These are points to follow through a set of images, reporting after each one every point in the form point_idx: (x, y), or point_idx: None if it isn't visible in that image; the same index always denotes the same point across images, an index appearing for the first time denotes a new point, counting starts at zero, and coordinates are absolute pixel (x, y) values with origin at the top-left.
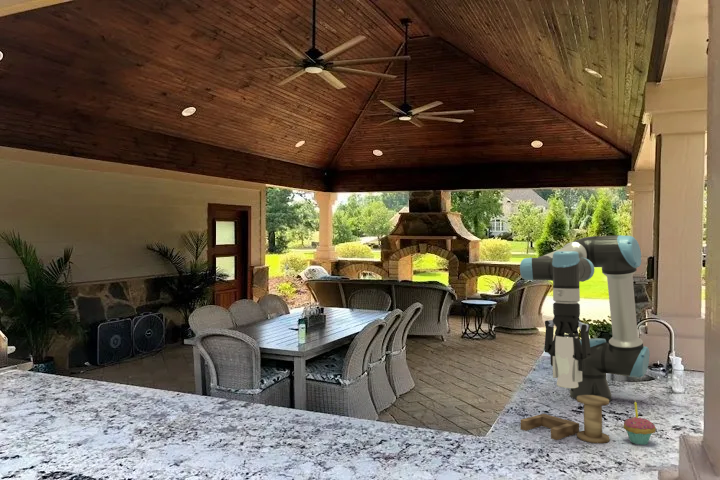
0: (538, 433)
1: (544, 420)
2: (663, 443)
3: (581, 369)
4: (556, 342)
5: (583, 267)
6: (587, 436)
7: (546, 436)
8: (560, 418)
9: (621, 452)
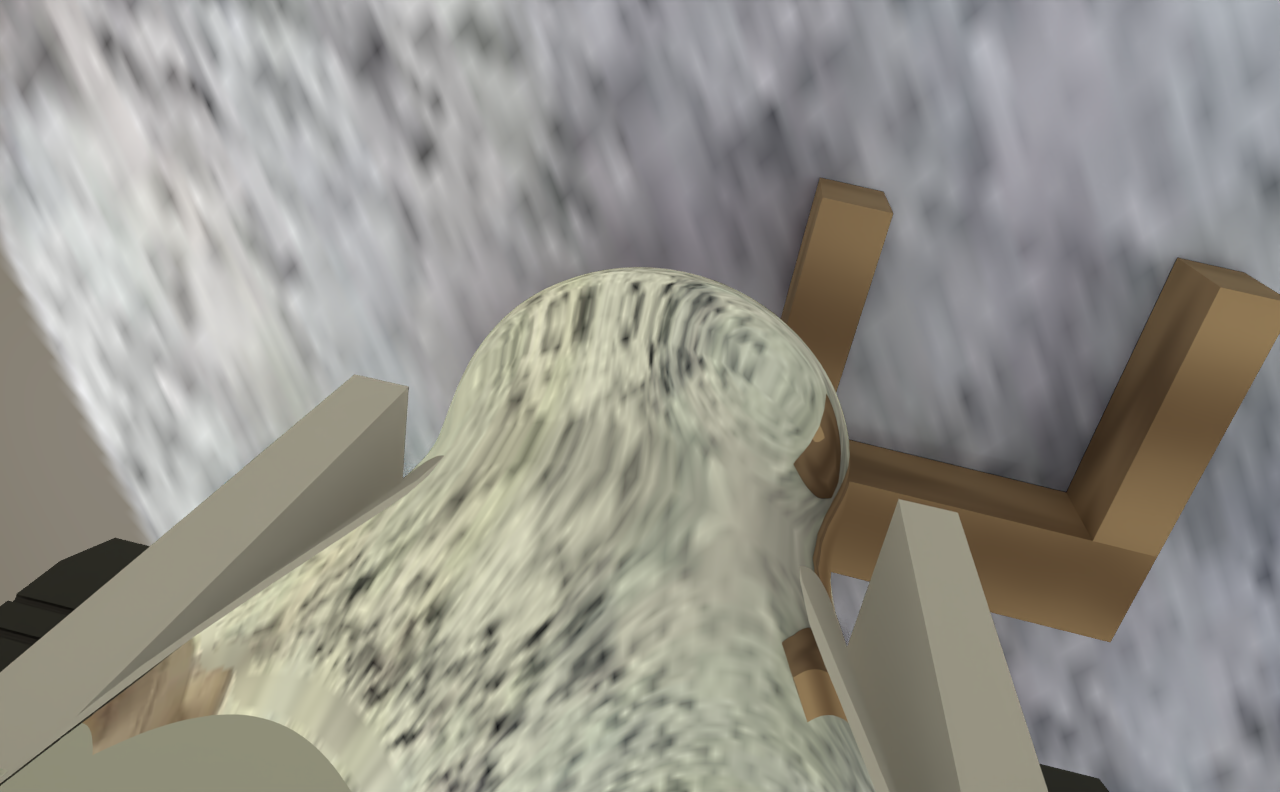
0: (1035, 263)
1: (1055, 517)
2: None
3: (78, 562)
4: None
5: None
6: None
7: (938, 225)
8: None
9: (306, 236)
